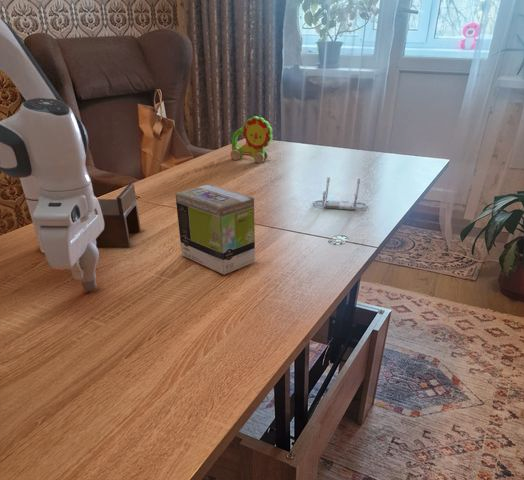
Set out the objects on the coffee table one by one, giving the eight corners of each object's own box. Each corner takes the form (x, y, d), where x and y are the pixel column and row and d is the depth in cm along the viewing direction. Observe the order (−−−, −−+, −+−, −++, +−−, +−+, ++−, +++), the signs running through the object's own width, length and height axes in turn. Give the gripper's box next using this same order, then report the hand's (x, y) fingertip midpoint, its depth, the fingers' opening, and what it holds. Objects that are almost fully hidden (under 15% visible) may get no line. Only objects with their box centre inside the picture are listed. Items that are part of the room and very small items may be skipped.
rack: (80, 246, 116) (68, 197, 109) (95, 229, 125) (85, 182, 118) (129, 247, 115) (120, 197, 108) (141, 230, 124) (133, 183, 117)
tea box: (256, 262, 108) (256, 196, 100) (223, 276, 102) (219, 208, 94) (213, 243, 117) (209, 181, 108) (180, 256, 111) (173, 191, 103)
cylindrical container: (38, 255, 112) (4, 140, 97) (43, 243, 117) (11, 133, 103) (70, 252, 113) (41, 138, 98) (73, 240, 119) (46, 131, 104)
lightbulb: (111, 285, 100) (101, 234, 93) (96, 299, 95) (84, 247, 88) (85, 282, 101) (72, 232, 94) (69, 296, 96) (55, 244, 89)
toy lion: (230, 160, 181) (228, 115, 172) (236, 156, 185) (235, 113, 176) (268, 164, 176) (268, 119, 167) (274, 161, 180) (274, 116, 171)
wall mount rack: (311, 210, 136) (312, 189, 133) (316, 195, 147) (317, 175, 143) (366, 213, 133) (369, 192, 130) (368, 198, 144) (370, 178, 141)
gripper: (73, 182, 96) (88, 248, 104) (27, 219, 79) (49, 294, 87) (104, 183, 95) (117, 248, 103) (64, 220, 79) (83, 294, 87)
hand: (85, 269), depth 95 cm, fingers closed on lightbulb, 6 cm apart
